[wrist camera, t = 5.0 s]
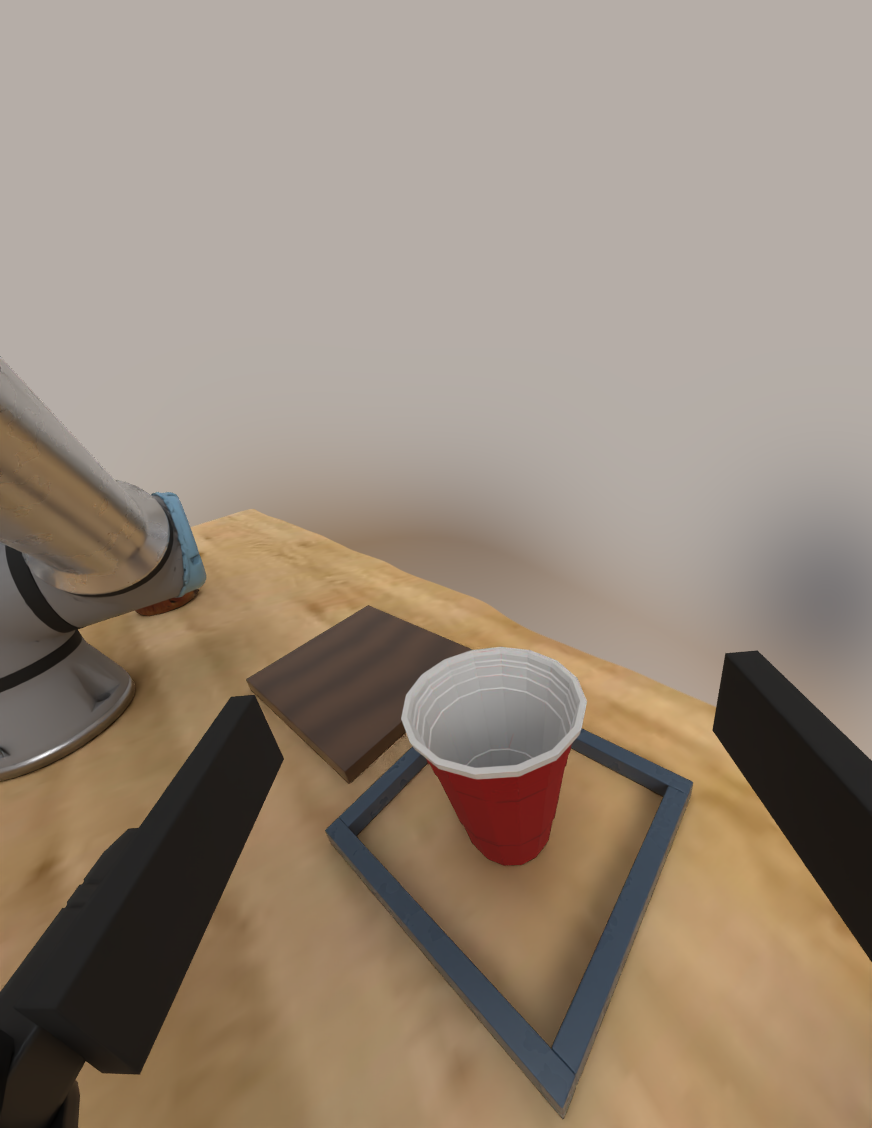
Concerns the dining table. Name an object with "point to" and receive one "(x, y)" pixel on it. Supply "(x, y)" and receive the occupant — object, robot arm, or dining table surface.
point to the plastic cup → (498, 743)
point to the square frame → (527, 1049)
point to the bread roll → (167, 604)
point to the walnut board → (352, 685)
